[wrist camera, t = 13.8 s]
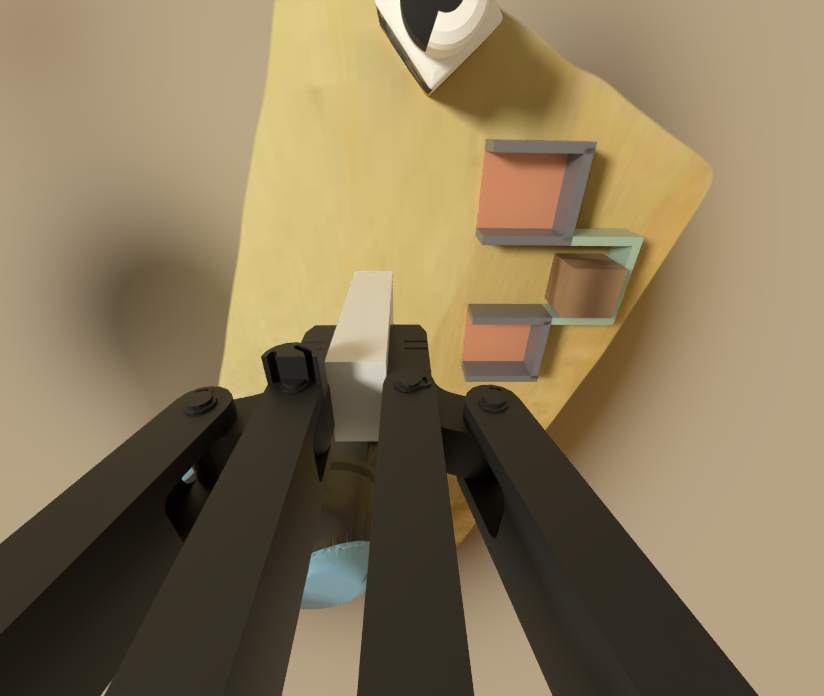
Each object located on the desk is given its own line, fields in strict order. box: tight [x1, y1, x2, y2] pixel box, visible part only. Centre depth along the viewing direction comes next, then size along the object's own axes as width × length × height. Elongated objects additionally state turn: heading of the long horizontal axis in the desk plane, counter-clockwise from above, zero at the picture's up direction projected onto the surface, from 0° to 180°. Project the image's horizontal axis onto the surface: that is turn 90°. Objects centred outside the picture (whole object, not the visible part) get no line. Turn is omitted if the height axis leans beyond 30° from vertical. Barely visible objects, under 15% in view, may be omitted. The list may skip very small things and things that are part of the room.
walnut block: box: [545, 253, 628, 318], centre depth 43 cm, size 6×6×6 cm
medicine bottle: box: [376, 0, 502, 96], centre depth 27 cm, size 7×7×12 cm
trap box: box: [462, 139, 644, 382], centre depth 43 cm, size 18×29×4 cm, turn 179°
